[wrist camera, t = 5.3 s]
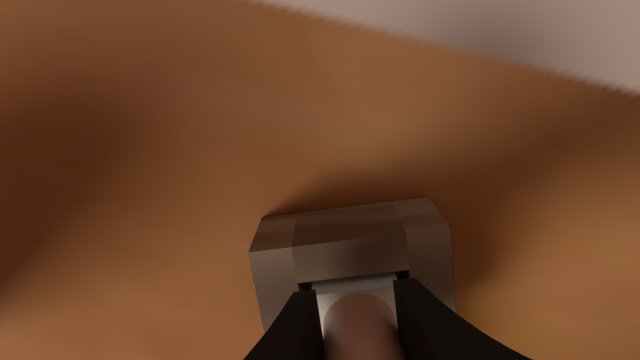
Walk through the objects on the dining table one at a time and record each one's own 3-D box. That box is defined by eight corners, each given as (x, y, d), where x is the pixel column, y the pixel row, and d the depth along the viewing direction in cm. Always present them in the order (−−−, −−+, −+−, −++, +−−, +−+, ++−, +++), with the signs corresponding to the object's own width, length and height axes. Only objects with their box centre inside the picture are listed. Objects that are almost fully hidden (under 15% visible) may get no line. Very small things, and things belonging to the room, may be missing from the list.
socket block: (435, 306, 17) (458, 357, 14) (281, 324, 17) (273, 377, 14) (428, 196, 15) (450, 227, 13) (262, 217, 16) (248, 252, 13)
